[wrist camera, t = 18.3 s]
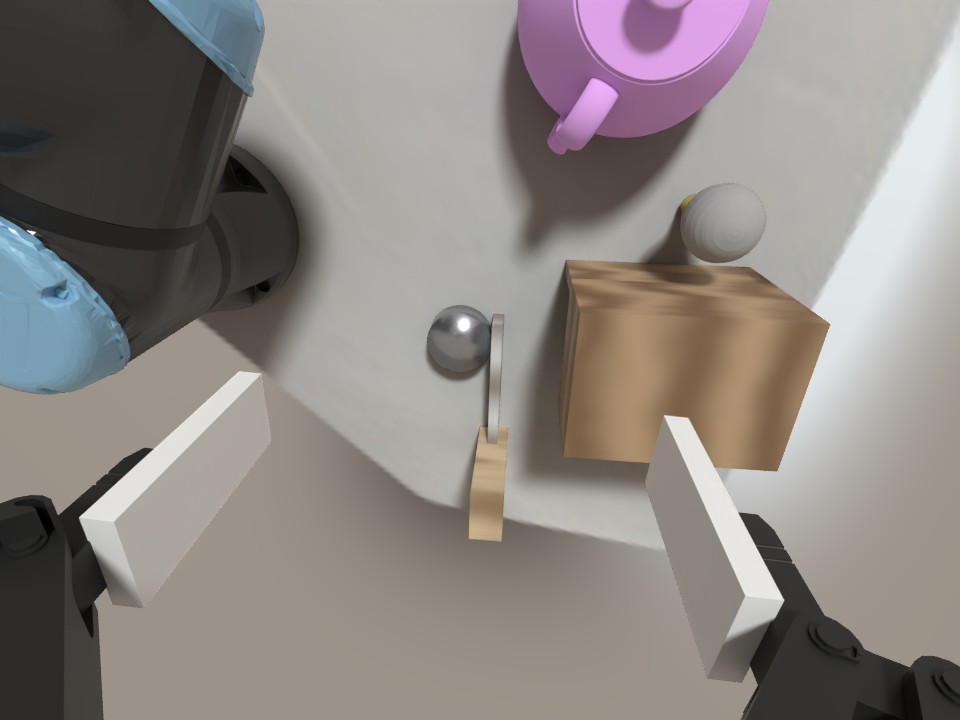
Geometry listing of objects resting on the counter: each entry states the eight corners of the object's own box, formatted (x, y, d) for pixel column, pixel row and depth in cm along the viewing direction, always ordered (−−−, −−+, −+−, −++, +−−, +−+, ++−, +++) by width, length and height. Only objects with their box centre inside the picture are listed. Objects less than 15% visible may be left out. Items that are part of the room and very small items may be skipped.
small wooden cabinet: (554, 379, 50) (563, 460, 39) (566, 260, 45) (580, 312, 33) (717, 388, 49) (776, 474, 38) (750, 267, 44) (830, 324, 32)
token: (430, 357, 51) (425, 368, 48) (432, 301, 48) (428, 310, 46) (489, 363, 50) (487, 375, 48) (494, 308, 48) (493, 317, 46)
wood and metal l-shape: (505, 465, 56) (501, 541, 46) (479, 463, 56) (468, 538, 46) (514, 315, 48) (511, 368, 38) (483, 313, 48) (472, 365, 38)
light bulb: (704, 247, 43) (749, 283, 35) (646, 225, 43) (678, 256, 34) (739, 185, 41) (798, 207, 32) (678, 161, 41) (721, 176, 32)
